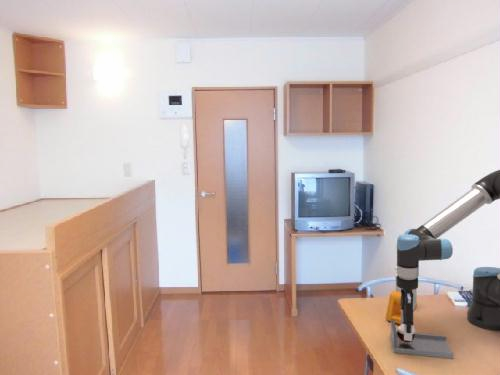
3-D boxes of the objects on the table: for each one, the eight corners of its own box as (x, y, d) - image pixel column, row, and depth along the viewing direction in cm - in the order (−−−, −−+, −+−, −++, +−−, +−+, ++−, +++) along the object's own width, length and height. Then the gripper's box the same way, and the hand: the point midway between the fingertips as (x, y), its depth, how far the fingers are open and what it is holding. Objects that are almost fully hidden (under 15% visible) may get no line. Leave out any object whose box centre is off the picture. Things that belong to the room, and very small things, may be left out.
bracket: (402, 327, 162) (403, 299, 160) (386, 321, 167) (386, 294, 165) (413, 318, 169) (414, 291, 168) (397, 313, 174) (398, 287, 173)
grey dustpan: (445, 340, 150) (446, 323, 149) (453, 358, 138) (454, 340, 137) (390, 335, 155) (390, 318, 154) (393, 352, 143) (393, 334, 142)
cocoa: (411, 348, 143) (412, 318, 140) (393, 342, 146) (394, 313, 144) (418, 336, 150) (419, 307, 148) (401, 331, 154) (402, 302, 151)
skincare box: (416, 305, 181) (417, 273, 179) (414, 311, 175) (415, 277, 173) (397, 301, 185) (398, 270, 183) (394, 307, 180) (395, 274, 178)
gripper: (393, 265, 156) (393, 318, 159) (399, 287, 135) (398, 347, 138) (413, 266, 154) (412, 320, 157) (423, 288, 133) (421, 349, 136)
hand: (406, 333), depth 147 cm, fingers closed on cocoa, 9 cm apart
